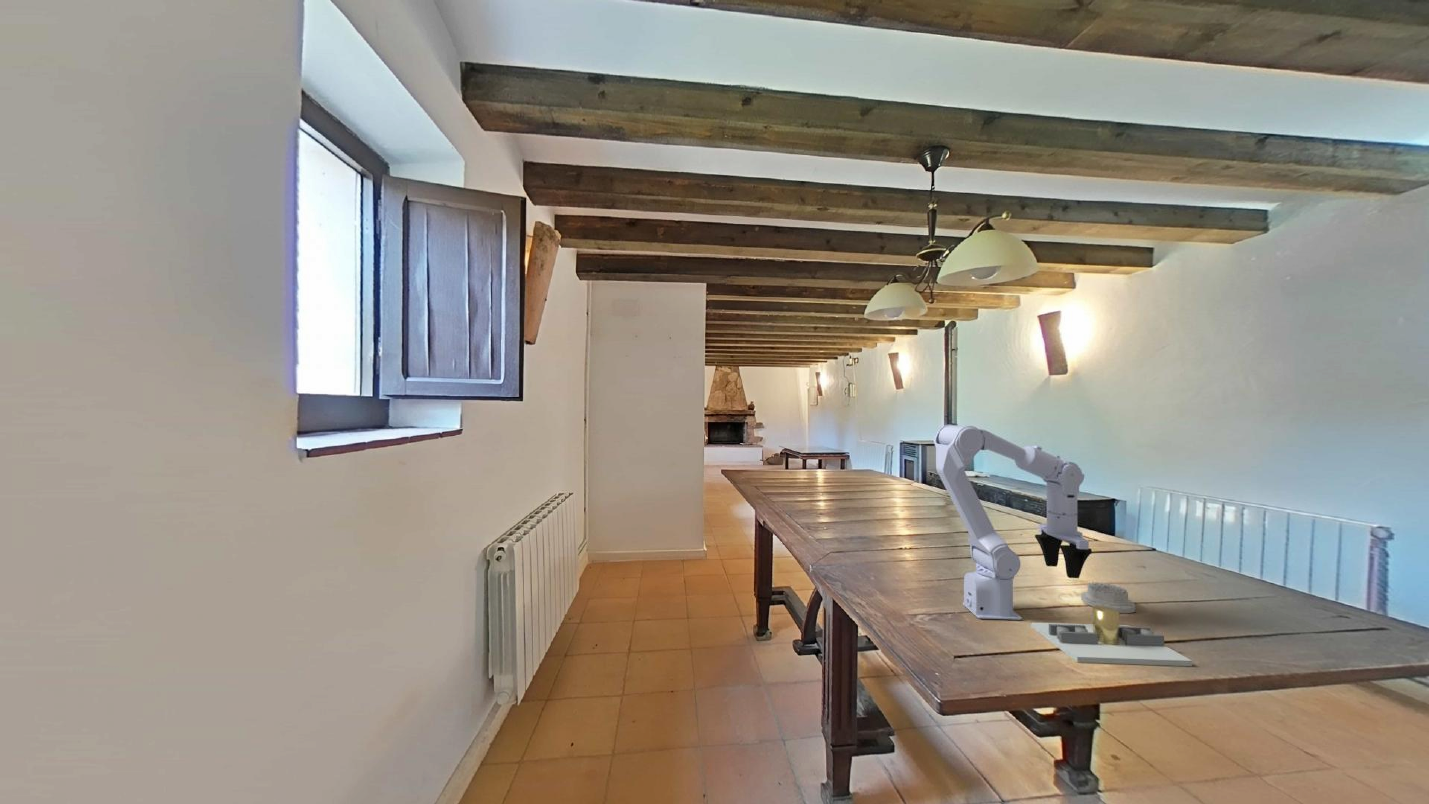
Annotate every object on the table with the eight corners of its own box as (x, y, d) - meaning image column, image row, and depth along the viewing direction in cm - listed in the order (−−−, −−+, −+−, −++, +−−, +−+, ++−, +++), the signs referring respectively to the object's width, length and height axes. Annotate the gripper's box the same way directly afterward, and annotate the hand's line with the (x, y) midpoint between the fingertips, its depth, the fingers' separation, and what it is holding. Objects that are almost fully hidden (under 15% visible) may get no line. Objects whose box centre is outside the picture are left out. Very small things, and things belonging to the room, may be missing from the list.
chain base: (1077, 662, 87) (1077, 646, 87) (1031, 627, 101) (1031, 613, 101) (1191, 666, 86) (1191, 649, 86) (1129, 630, 100) (1129, 615, 100)
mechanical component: (1146, 615, 108) (1114, 598, 118) (1146, 596, 108) (1114, 580, 118) (1099, 613, 109) (1071, 596, 119) (1099, 594, 109) (1071, 578, 119)
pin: (1103, 645, 92) (1103, 614, 92) (1087, 635, 96) (1087, 605, 96) (1124, 645, 92) (1124, 614, 92) (1107, 635, 96) (1107, 605, 96)
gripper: (1103, 520, 101) (1103, 583, 101) (1059, 506, 116) (1059, 561, 116) (1068, 519, 102) (1069, 582, 102) (1029, 505, 117) (1029, 561, 116)
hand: (1062, 571), depth 109 cm, fingers open, 7 cm apart
